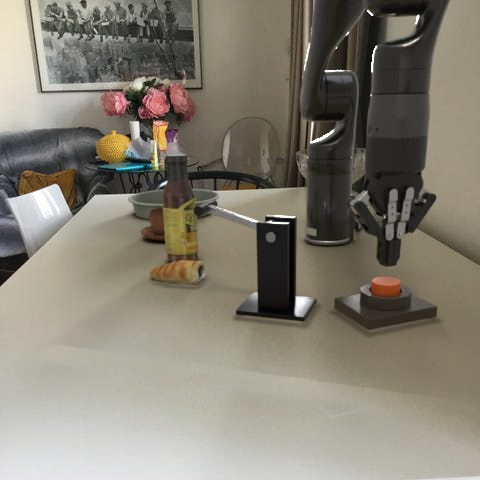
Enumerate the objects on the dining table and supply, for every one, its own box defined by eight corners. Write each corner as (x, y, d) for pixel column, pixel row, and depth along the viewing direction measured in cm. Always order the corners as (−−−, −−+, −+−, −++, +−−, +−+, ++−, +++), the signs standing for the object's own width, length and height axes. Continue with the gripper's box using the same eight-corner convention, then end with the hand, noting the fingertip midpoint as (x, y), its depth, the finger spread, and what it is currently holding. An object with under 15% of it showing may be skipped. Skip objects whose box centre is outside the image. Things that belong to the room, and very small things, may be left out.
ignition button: (389, 286, 82) (389, 275, 81) (406, 295, 78) (407, 283, 78) (365, 290, 80) (365, 278, 80) (381, 299, 77) (382, 287, 76)
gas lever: (191, 217, 79) (195, 201, 78) (207, 209, 84) (210, 194, 83) (278, 248, 77) (283, 232, 76) (289, 238, 81) (293, 223, 80)
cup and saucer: (131, 242, 124) (128, 214, 122) (158, 230, 135) (156, 204, 132) (179, 246, 120) (177, 217, 118) (203, 233, 130) (202, 206, 128)
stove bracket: (236, 318, 82) (232, 224, 76) (253, 300, 88) (251, 212, 83) (303, 326, 78) (305, 227, 73) (316, 306, 85) (318, 215, 80)
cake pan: (218, 220, 142) (217, 202, 140) (121, 223, 143) (119, 205, 141) (222, 202, 165) (221, 186, 163) (138, 204, 165) (137, 189, 164)
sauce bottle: (193, 265, 107) (187, 156, 99) (162, 264, 108) (153, 156, 100) (202, 256, 113) (197, 152, 105) (172, 255, 114) (165, 152, 106)
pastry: (145, 286, 96) (143, 264, 95) (158, 274, 102) (157, 254, 101) (198, 289, 94) (197, 266, 93) (209, 276, 100) (208, 255, 99)
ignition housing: (397, 300, 86) (399, 275, 85) (436, 321, 79) (439, 293, 77) (333, 312, 83) (334, 286, 81) (368, 334, 75) (370, 306, 73)
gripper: (368, 137, 66) (361, 279, 72) (460, 131, 70) (445, 265, 77) (335, 133, 72) (331, 264, 79) (421, 128, 77) (410, 252, 83)
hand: (387, 264), depth 78 cm, fingers closed
